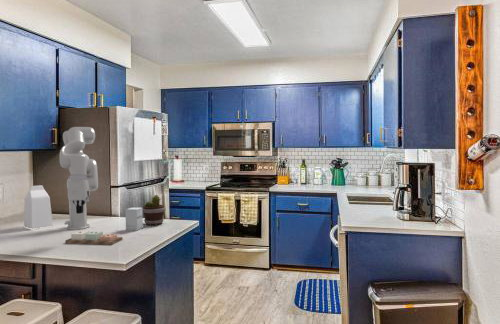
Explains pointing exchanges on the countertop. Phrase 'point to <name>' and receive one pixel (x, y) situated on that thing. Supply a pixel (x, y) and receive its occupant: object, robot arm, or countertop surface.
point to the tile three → (108, 237)
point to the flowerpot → (153, 211)
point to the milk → (37, 208)
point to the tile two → (93, 235)
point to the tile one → (79, 235)
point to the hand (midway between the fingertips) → (79, 213)
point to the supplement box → (134, 219)
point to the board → (94, 241)
